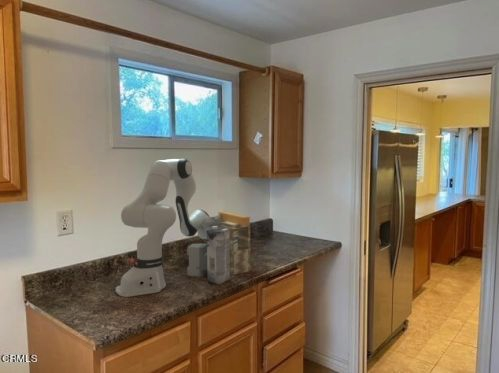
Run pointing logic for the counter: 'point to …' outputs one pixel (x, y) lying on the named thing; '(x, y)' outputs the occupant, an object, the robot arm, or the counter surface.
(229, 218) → the orange bar
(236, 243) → the baking soda box
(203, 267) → the circuit breaker
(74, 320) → the counter surface
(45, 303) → the counter surface
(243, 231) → the birch stool
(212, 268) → the juice carton
